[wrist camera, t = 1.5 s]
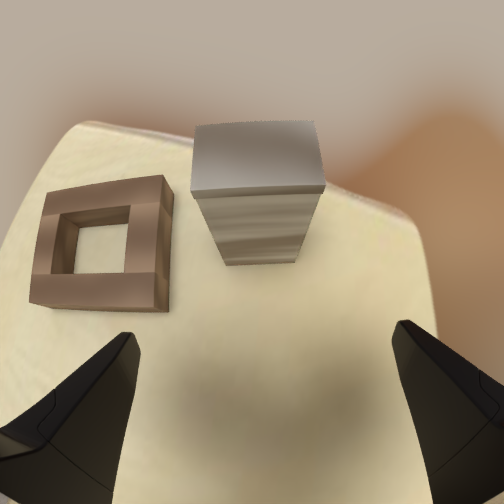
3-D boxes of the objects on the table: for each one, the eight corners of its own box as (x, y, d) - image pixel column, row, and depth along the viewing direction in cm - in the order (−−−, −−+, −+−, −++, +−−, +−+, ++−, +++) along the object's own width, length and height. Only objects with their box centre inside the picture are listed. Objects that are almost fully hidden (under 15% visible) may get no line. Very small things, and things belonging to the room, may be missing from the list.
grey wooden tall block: (295, 263, 24) (325, 184, 12) (225, 266, 24) (190, 190, 12) (291, 221, 25) (313, 120, 13) (225, 224, 25) (195, 125, 13)
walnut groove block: (168, 312, 23) (153, 307, 20) (51, 308, 23) (28, 302, 20) (174, 194, 26) (162, 174, 23) (65, 207, 26) (47, 192, 23)
